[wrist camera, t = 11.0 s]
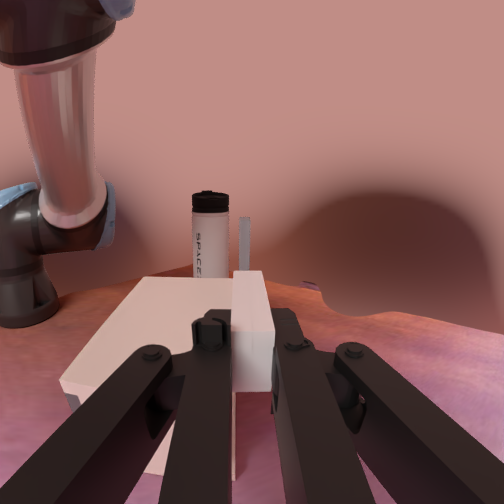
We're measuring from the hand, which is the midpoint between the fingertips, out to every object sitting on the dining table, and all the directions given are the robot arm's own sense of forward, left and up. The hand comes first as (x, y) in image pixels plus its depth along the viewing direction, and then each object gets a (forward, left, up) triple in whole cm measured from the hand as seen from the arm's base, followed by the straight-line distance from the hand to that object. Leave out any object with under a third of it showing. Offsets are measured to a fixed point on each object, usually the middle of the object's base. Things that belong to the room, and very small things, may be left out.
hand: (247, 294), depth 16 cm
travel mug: (-33, +13, -16) cm, 39 cm away
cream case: (-11, -1, -16) cm, 20 cm away
